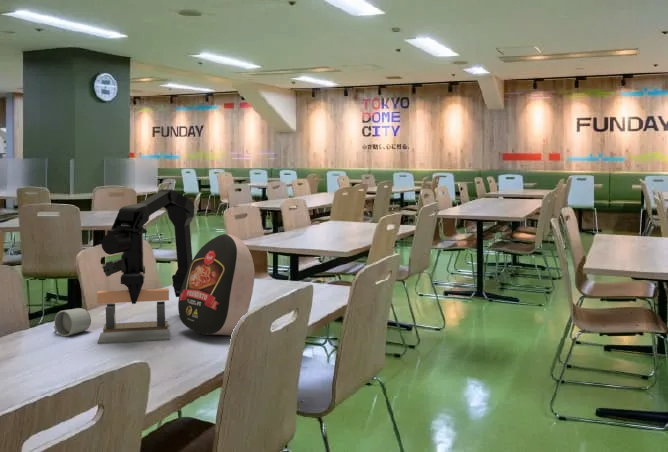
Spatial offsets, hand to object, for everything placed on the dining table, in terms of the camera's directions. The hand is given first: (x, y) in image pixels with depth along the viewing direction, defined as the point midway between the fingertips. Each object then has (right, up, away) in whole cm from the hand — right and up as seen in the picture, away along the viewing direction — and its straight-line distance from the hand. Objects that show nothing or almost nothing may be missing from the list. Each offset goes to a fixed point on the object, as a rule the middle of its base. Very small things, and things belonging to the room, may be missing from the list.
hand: (134, 302), depth 202 cm
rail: (0, 0, 0) cm, 0 cm away
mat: (0, -10, +1) cm, 11 cm away
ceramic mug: (-21, -10, +5) cm, 24 cm away
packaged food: (+23, -10, +7) cm, 26 cm away
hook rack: (-3, -9, +12) cm, 15 cm away
